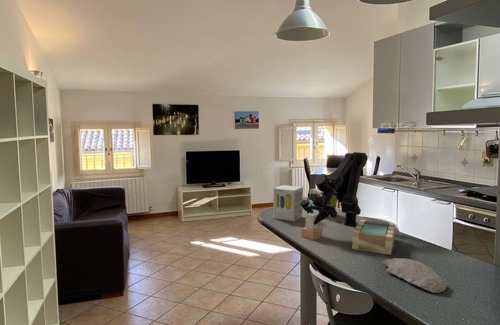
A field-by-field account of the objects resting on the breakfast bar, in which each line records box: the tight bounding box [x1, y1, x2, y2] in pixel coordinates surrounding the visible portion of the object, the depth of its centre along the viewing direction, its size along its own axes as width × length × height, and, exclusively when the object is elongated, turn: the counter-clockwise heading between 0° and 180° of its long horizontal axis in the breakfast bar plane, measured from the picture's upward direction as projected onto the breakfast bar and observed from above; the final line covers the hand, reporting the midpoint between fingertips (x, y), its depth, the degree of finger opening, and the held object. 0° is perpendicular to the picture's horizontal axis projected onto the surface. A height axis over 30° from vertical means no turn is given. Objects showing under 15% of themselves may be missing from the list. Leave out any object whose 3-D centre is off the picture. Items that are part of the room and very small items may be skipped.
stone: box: [381, 257, 448, 294], centre depth 125 cm, size 16×6×25 cm
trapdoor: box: [361, 219, 389, 235], centre depth 159 cm, size 18×10×3 cm, turn 155°
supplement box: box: [272, 184, 304, 222], centre depth 203 cm, size 13×13×18 cm
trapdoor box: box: [351, 219, 396, 256], centre depth 160 cm, size 23×16×7 cm
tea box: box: [309, 188, 337, 218], centre depth 211 cm, size 15×10×15 cm
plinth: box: [300, 226, 323, 241], centre depth 169 cm, size 7×7×4 cm
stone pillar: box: [304, 213, 320, 230], centre depth 168 cm, size 4×4×7 cm
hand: (310, 223), depth 167 cm, fingers closed on stone pillar, 4 cm apart
